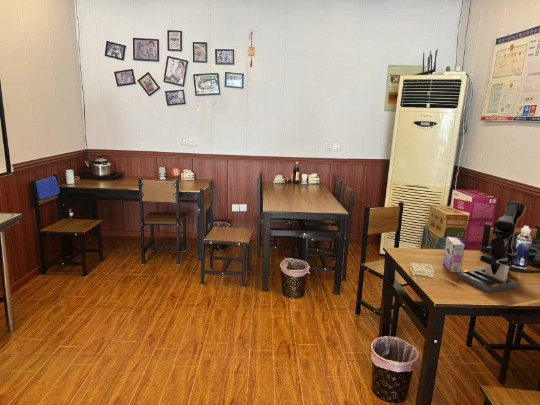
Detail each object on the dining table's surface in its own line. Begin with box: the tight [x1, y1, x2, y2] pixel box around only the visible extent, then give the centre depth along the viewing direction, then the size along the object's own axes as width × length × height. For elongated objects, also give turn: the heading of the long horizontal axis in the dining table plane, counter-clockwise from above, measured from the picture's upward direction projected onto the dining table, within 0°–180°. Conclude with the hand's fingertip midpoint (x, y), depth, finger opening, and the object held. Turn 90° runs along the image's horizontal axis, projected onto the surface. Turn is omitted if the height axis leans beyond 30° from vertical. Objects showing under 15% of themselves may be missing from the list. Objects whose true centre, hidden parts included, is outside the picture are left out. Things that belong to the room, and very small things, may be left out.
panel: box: [485, 263, 510, 282], centre depth 183 cm, size 2×10×10 cm, turn 20°
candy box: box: [442, 236, 466, 273], centre depth 199 cm, size 14×6×16 cm, turn 168°
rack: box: [457, 267, 519, 294], centre depth 182 cm, size 19×18×5 cm
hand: (495, 274), depth 183 cm, fingers closed on panel, 2 cm apart
